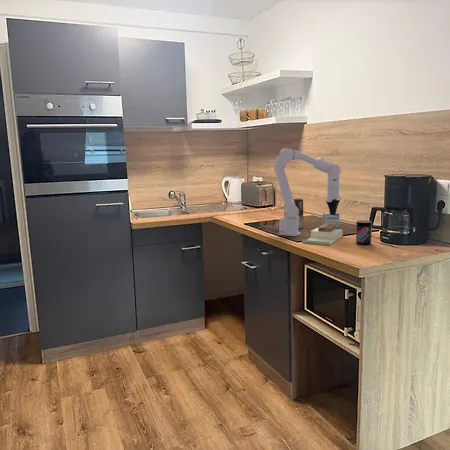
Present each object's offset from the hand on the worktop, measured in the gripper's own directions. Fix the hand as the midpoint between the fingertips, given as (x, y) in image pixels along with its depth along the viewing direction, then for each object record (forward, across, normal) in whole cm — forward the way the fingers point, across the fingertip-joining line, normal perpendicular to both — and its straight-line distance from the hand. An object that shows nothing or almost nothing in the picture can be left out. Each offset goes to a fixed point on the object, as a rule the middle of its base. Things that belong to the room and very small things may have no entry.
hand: (332, 214), depth 215 cm
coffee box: (+10, +8, +24) cm, 28 cm away
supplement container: (+10, -18, -20) cm, 29 cm away
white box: (+10, -10, 0) cm, 14 cm away
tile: (+6, -10, 0) cm, 12 cm away
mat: (+10, -21, 0) cm, 24 cm away
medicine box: (+10, +12, +4) cm, 17 cm away
